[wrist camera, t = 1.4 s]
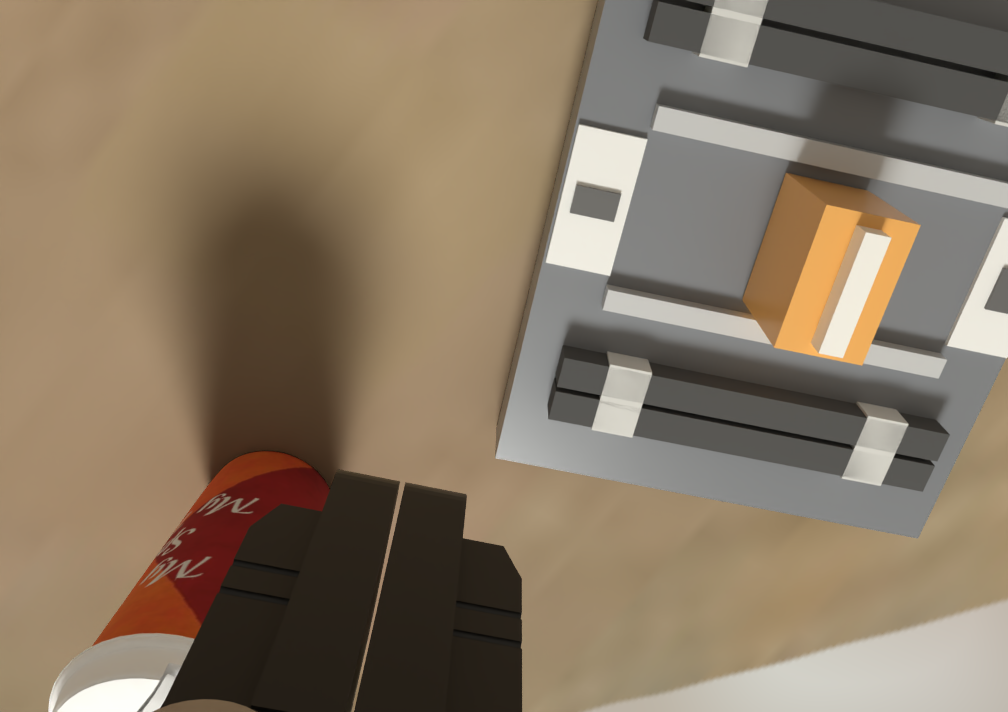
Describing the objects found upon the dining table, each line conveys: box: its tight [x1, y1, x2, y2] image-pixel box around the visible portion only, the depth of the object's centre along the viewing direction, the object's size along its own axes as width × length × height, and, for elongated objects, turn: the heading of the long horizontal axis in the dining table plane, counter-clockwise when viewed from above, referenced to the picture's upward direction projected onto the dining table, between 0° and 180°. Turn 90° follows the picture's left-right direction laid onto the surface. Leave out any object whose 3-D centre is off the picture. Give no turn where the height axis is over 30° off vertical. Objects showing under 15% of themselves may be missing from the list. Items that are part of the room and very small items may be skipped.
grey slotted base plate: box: [547, 0, 1008, 492], centre depth 32 cm, size 17×15×4 cm
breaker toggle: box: [742, 173, 921, 366], centre depth 29 cm, size 5×3×5 cm, turn 168°
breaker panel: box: [495, 0, 1008, 538], centre depth 33 cm, size 22×18×3 cm
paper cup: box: [48, 451, 330, 712], centre depth 33 cm, size 8×8×14 cm
